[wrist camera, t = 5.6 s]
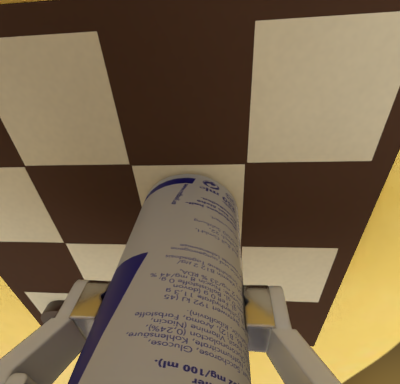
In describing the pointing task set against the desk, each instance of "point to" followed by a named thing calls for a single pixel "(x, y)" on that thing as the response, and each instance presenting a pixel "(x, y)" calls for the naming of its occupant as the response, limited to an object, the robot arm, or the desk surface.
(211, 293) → the energy drink
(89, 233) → the chessboard
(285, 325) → the robot arm
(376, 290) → the desk surface
